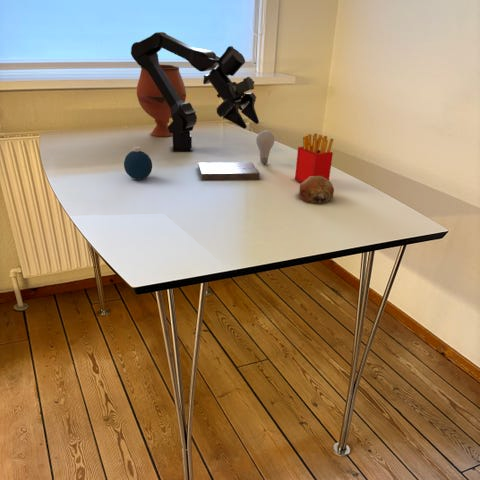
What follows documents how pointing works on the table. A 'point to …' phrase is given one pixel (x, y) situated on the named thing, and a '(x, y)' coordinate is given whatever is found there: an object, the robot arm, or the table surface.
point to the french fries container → (313, 158)
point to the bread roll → (316, 190)
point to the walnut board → (228, 171)
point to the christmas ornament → (138, 164)
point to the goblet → (159, 97)
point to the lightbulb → (264, 145)
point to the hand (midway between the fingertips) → (252, 125)
